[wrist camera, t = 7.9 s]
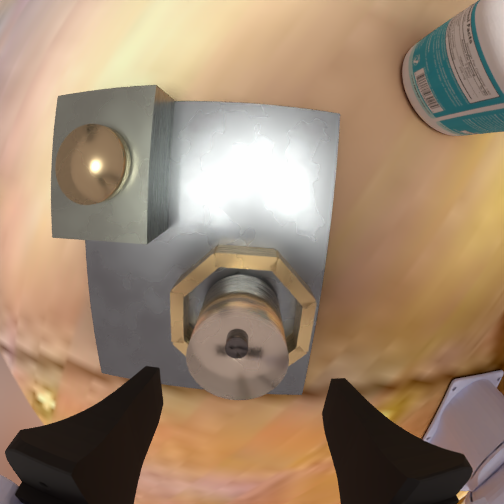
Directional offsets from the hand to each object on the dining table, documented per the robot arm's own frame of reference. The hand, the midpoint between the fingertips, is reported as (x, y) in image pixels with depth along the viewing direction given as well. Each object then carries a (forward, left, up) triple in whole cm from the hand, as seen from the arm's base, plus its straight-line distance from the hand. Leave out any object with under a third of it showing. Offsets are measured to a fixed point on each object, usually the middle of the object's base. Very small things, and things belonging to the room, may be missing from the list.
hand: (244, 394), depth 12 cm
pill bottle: (+17, -13, -10) cm, 23 cm away
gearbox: (+3, +3, -9) cm, 10 cm away
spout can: (0, 0, -9) cm, 9 cm away
